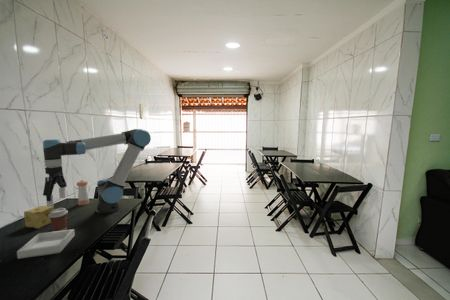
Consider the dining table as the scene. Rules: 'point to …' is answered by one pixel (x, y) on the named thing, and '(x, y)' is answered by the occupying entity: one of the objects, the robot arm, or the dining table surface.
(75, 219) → the dining table surface
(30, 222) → the cheese
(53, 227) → the coffee cup
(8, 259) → the dining table surface
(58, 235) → the white square tray
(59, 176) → the robot arm
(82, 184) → the salt shaker
